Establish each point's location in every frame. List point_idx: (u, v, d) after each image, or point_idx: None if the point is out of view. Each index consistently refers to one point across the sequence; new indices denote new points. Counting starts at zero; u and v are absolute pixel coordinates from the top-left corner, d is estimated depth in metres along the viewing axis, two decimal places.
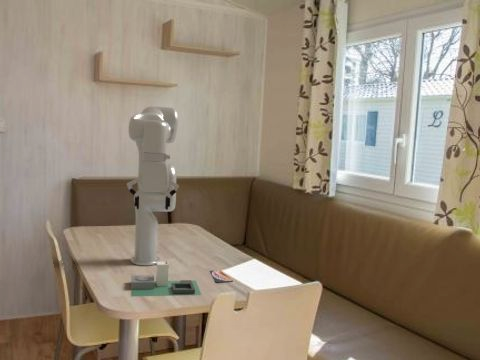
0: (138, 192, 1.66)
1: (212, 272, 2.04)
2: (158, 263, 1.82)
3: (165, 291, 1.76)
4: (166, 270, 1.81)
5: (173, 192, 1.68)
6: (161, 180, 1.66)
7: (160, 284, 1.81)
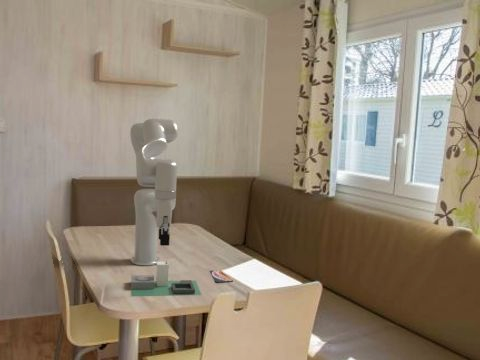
0: None
1: (212, 272, 2.04)
2: (158, 263, 1.82)
3: (165, 291, 1.76)
4: (166, 270, 1.81)
5: None
6: None
7: (160, 284, 1.81)
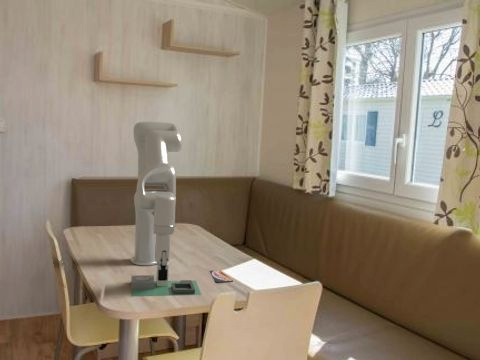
0: None
1: (212, 272, 2.04)
2: (158, 263, 1.82)
3: (165, 291, 1.76)
4: None
5: None
6: None
7: (160, 284, 1.81)
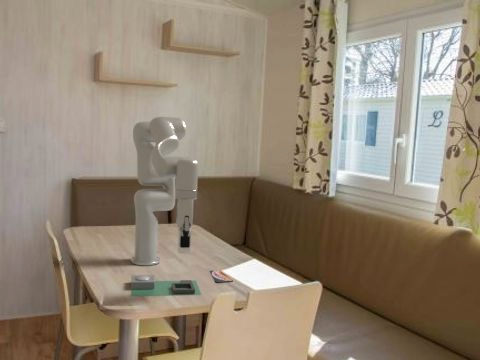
0: (189, 231, 1.73)
1: (212, 272, 2.04)
2: (180, 230, 1.75)
3: (165, 291, 1.76)
4: None
5: None
6: None
7: (182, 251, 1.75)
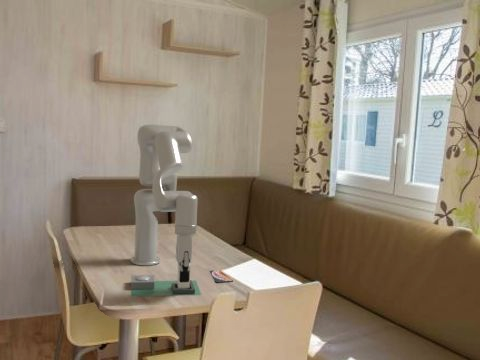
0: (188, 266, 1.75)
1: (212, 272, 2.04)
2: (179, 264, 1.76)
3: (165, 291, 1.76)
4: None
5: None
6: None
7: (182, 286, 1.76)
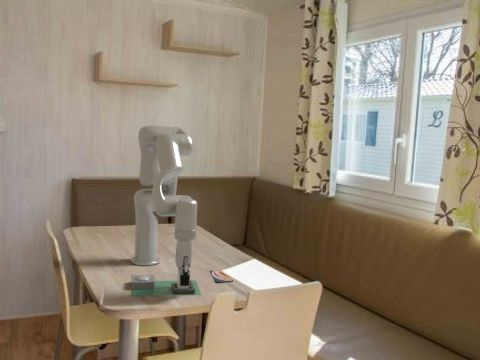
0: None
1: (212, 272, 2.04)
2: (179, 269, 1.76)
3: (165, 291, 1.76)
4: None
5: None
6: None
7: None
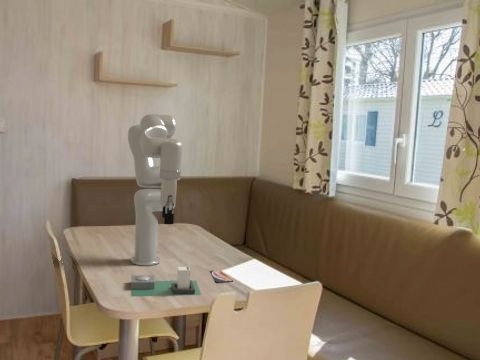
0: (173, 208, 1.79)
1: (212, 272, 2.04)
2: (179, 269, 1.76)
3: (165, 291, 1.76)
4: (187, 276, 1.76)
5: None
6: None
7: None
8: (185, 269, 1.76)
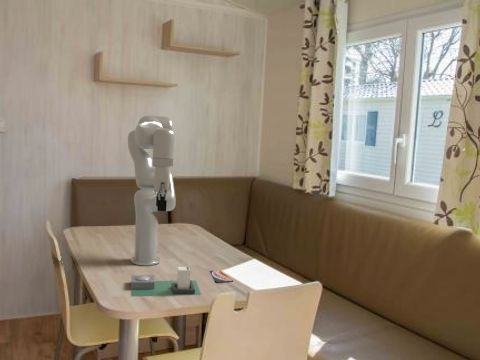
0: (166, 195, 1.81)
1: (212, 272, 2.04)
2: (179, 269, 1.76)
3: (165, 291, 1.76)
4: (187, 276, 1.76)
5: None
6: None
7: None
8: (185, 269, 1.76)
